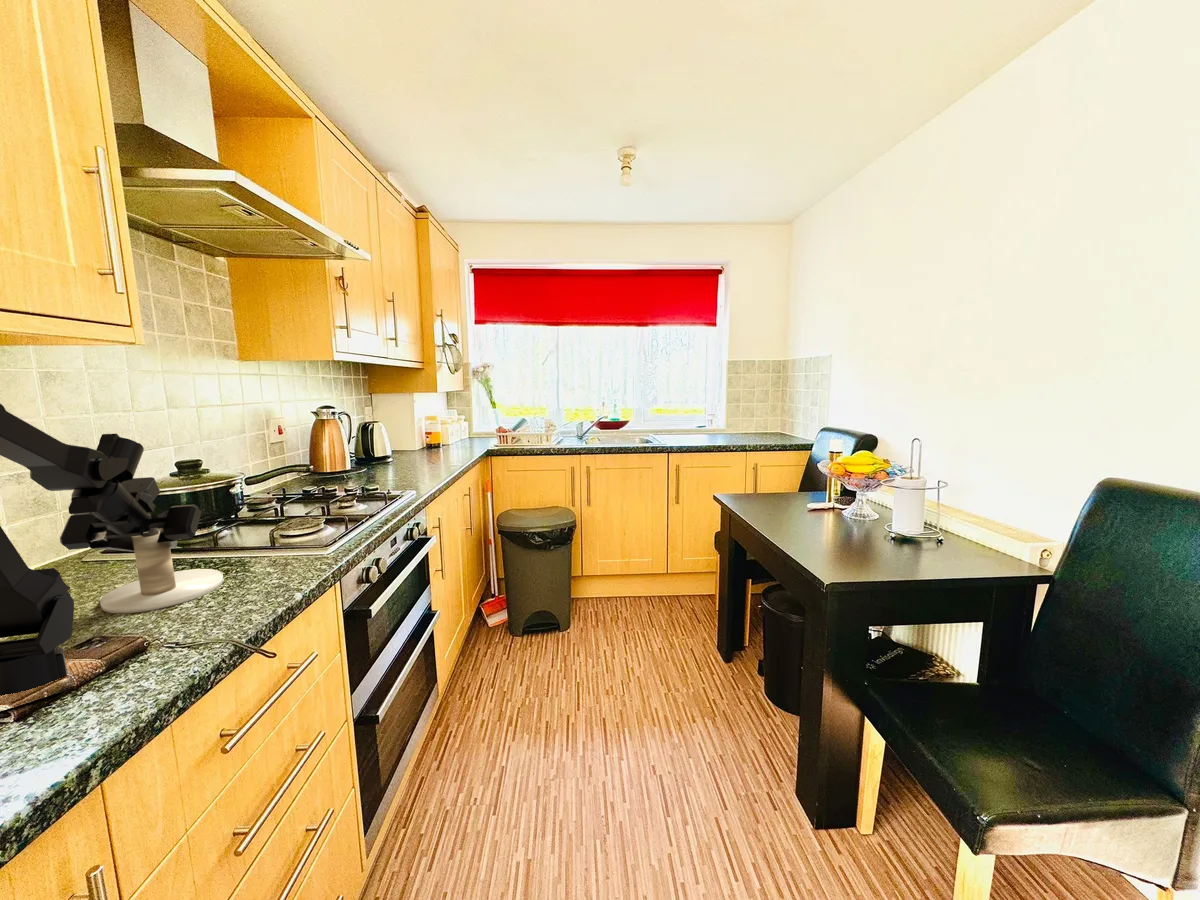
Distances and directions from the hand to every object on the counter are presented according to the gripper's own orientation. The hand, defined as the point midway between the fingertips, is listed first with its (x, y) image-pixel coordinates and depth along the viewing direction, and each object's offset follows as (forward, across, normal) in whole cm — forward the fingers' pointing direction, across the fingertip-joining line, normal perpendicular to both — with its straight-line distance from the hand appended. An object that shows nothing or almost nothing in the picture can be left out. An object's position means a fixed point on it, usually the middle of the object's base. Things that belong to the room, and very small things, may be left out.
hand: (157, 547), depth 96 cm
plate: (+7, 0, +6) cm, 9 cm away
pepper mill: (+5, 0, +7) cm, 8 cm away
